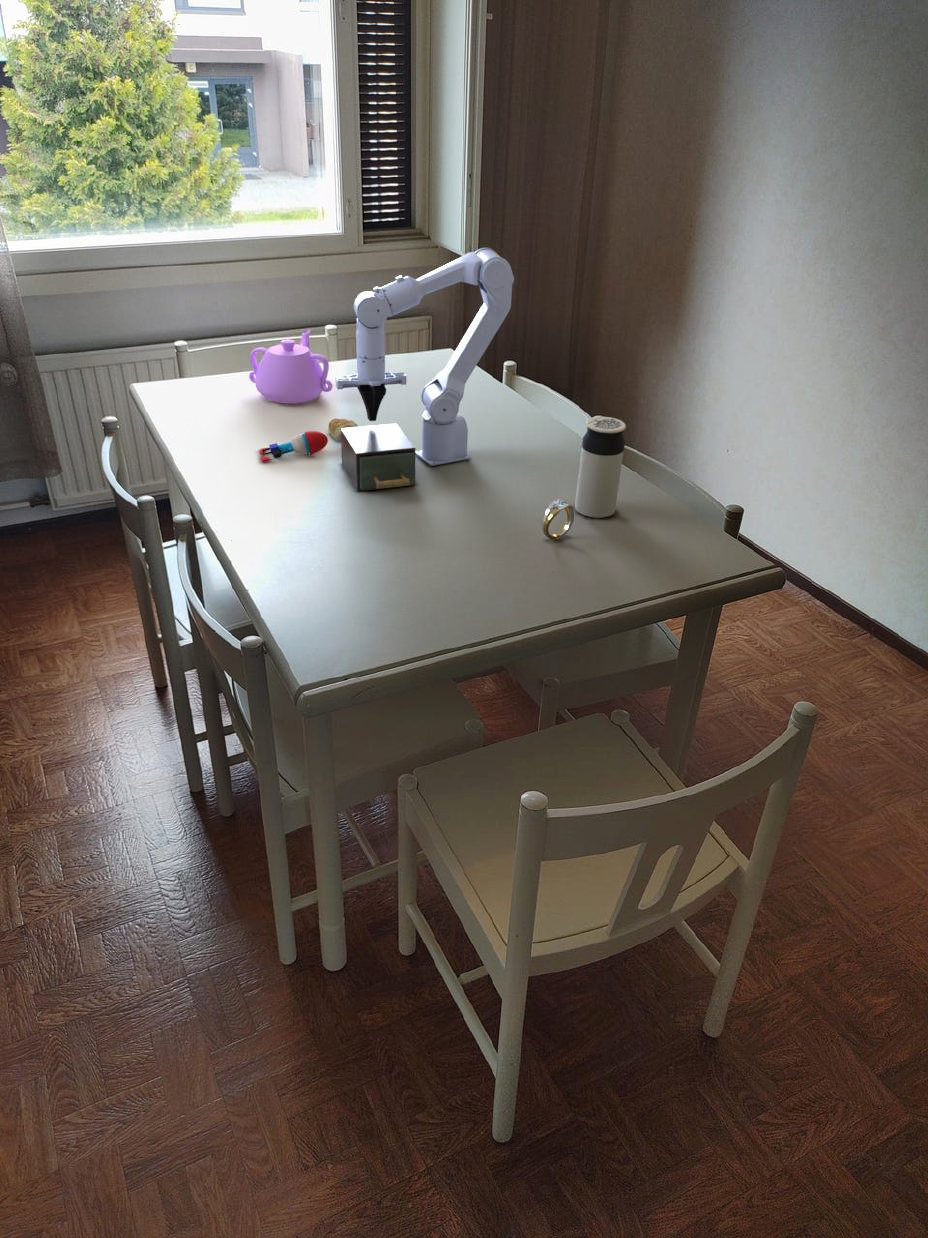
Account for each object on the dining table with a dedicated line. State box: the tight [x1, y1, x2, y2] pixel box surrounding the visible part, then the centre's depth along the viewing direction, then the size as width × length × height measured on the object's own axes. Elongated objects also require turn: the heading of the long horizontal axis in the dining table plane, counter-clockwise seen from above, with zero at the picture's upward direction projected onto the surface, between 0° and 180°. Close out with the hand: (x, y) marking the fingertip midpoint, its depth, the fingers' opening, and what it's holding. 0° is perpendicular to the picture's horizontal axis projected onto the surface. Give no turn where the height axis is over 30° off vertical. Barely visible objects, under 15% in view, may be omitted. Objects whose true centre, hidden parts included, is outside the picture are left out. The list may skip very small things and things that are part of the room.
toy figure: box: [258, 430, 329, 463], centre depth 196 cm, size 8×5×15 cm
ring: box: [541, 498, 575, 541], centre depth 167 cm, size 7×3×8 cm, turn 124°
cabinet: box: [340, 423, 416, 492], centre depth 188 cm, size 14×12×8 cm
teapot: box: [248, 328, 333, 404], centre depth 226 cm, size 22×22×14 cm
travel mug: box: [574, 416, 627, 519], centre depth 175 cm, size 8×8×18 cm
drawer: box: [359, 451, 414, 491], centre depth 185 cm, size 17×11×7 cm, turn 19°
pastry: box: [328, 418, 360, 443], centre depth 207 cm, size 9×7×4 cm
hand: (371, 419), depth 191 cm, fingers closed
